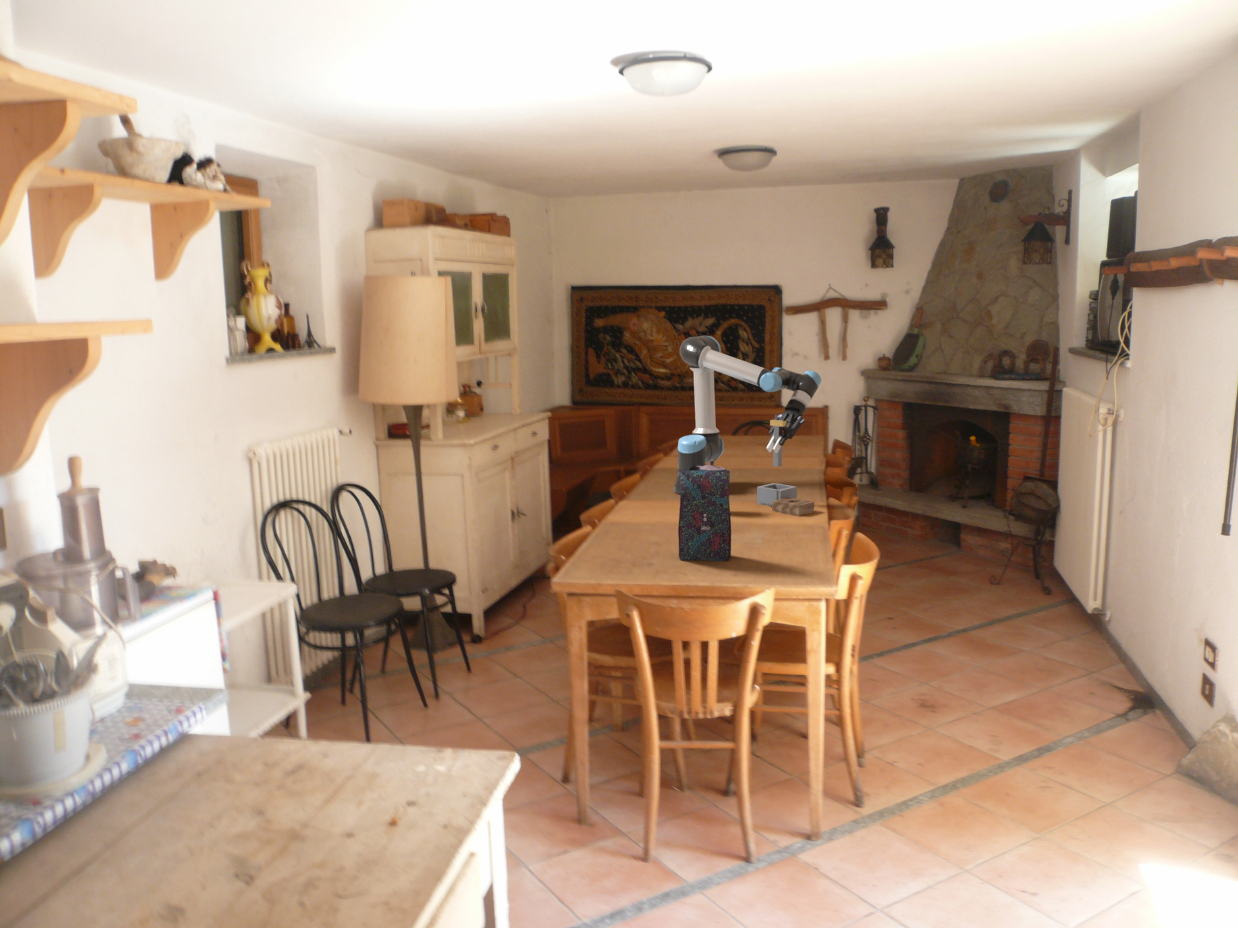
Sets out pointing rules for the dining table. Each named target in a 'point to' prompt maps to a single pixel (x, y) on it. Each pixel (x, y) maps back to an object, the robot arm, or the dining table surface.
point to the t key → (777, 433)
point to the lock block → (793, 506)
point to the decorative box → (704, 515)
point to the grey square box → (774, 493)
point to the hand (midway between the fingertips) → (771, 450)
